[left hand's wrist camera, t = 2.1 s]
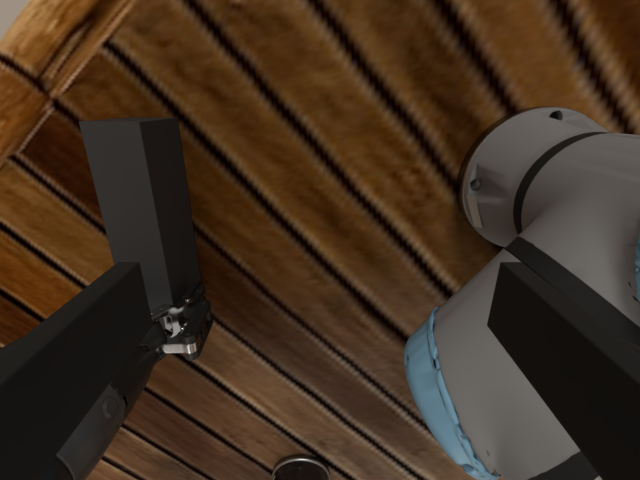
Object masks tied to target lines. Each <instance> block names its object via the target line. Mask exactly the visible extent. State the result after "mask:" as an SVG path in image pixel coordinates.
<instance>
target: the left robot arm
mask: <svg viewBox="0 0 640 480" xmlns="http://www.w3.org/2000/svg"><path fill="white" fill-rule="evenodd" d="M457 194H458V201H459V206H460V209H461V211H462V214H463V216H464V217H465V219H466V221H467V222H468V223H469V225H470V226H471V227H472V228H473V229H474V230H475V231H477V232H478V233H479V234H480V235H482V236H483V237H484V238H485V239H487V240H489V241H490V242H492V243H494V244H497V245H499V246H503V247H505V248H504V249H502V250H501V251H500V252H499V253H498V254H497V255H496V256H495V257H494V258H493V259H492V260H491V261H490V262H489V263H487V264H486V265H485V266H484V267H483V268H482V269H481V270H480V271H479V272H478V273H477V274H476V275H475V276H474V277H473V278H472V279H470V280H469V281H468V282H467V283H466V284H465V285H464V286H463V287H462V288H460V289H459V290H458V291H457V292H456V293H455V294H454V295H453V296H452V297H450V298H449V299H448V300H447V301H446V302H445V303H444V304H443V305H442V306H440V307H436V308H434V309H433V310H432V311H431V313H430V315H429V318H428V319H427V320H426V321H425V322H424V323H423V324H422V325H421V326H420V327H419V328H418V329H417V330H416V331H415V332H414V333H413V334H412V335H411V336H410V338H409V339H408V341H407V343H406V346H405V350H404V365H405V369H406V371H405V372H406V378H407V382H408V385H409V388H410V391H411V393H412V396H413V398H414V401H415V403H416V405H417V407H418V409H419V411H420V413H421V415H422V417H423V419H424V421H425V422H426V424H427V426H428V428H429V429H430V431H431V432H432V434H433V436H434V437H435V439H436V440H437V442H438V443H439V444H440V446H441V447H442V448H443V450H444V451H445V452H446V453H447V454H448V456H449V457H450V458H451V459H452V460H453V461H454V462H455V463H456V464H458V465H461V466H462V468H463V469H464V471H465V472H466V473H467V474H469V475H470V476H472V477H473V478H475V479H478V480H497V479H498V478H499V477H501V475H502V476H503V478H504V479H505V480H640V135H631V134H621V133H610V132H609V131H607V130H606V129H605V128H603V127H602V126H600V125H599V124H597V123H596V122H594V121H593V120H591V119H590V118H588V117H587V116H585V115H584V114H582V113H580V112H577V111H575V110H572V109H568V108H562V107H533V108H527V109H523V110H520V111H517V112H514V113H512V114H510V115H507V116H505V117H504V118H502V119H500V120H499V121H497V122H496V123H494V124H493V125H492V126H490V127H489V128H488V129H487V130H486V131H485V132H484V133H483V134H482V135H481V136H480V137H479V138H478V139H477V140H476V141H475V143H474V144H473V145H472V147H471V148H470V150H469V152H468V153H467V155H466V157H465V159H464V161H463V164H462V166H461V170H460V173H459V178H458V186H457ZM152 326H153V322H152V318H151V313H150V308H149V304H148V299H147V294H146V290H145V285H144V281H143V276H142V271H141V267H140V262H118V263H116V264H115V265H114V266H113V267H111V268H110V269H109V270H108V271H106V272H105V273H104V274H103V275H101V276H100V277H99V278H98V279H96V280H95V281H94V282H92V283H91V284H90V285H89V286H87V287H86V288H85V289H84V290H82V291H81V292H80V293H79V294H77V295H76V296H75V297H74V298H72V299H71V300H70V301H68V302H67V303H66V304H65V305H63V306H62V307H61V308H60V309H58V310H57V311H56V312H55V313H53V314H52V315H51V316H49V317H48V318H47V319H46V320H44V321H43V322H42V323H41V324H39V325H38V326H37V327H36V328H34V329H33V330H32V331H31V332H29V333H28V334H27V335H25V336H24V337H23V338H20V339H18V340H16V341H14V342H12V343H10V344H8V345H6V346H4V347H3V348H1V349H0V480H38V479H39V477H40V476H41V475H42V473H43V472H44V471H45V469H46V468H47V467H48V465H49V464H50V463H51V461H52V460H53V459H54V457H55V456H56V455H57V453H58V452H59V451H60V449H61V448H62V447H63V445H64V444H65V443H66V441H67V440H68V439H69V437H70V436H71V435H72V433H73V432H74V430H75V429H76V428H77V426H78V425H79V424H80V422H81V421H82V420H83V418H84V417H85V416H86V414H87V413H88V412H89V410H90V409H91V408H92V406H93V405H94V404H95V402H96V401H97V400H98V398H99V397H100V396H101V394H102V393H103V392H104V390H105V389H106V388H107V386H108V385H109V384H110V382H111V381H112V380H113V378H114V377H115V376H116V374H117V373H118V372H119V370H120V369H121V368H122V366H123V365H124V364H125V362H126V361H127V360H128V358H129V357H130V356H131V354H132V353H133V352H134V350H135V349H136V348H137V346H138V345H139V344H140V342H141V341H142V340H143V338H144V337H145V336H146V334H147V333H148V332H149V330H150V329H151V328H152Z"/></svg>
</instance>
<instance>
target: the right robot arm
mask: <svg viewBox="0 0 640 480" xmlns="http://www.w3.org/2000/svg"><path fill="white" fill-rule="evenodd" d="M205 299H206V295H205V288H204V285H201V281H193V282H192V284H191V285H190V287H189V288H188V290H187V291H186V292H185V294H184V295H183V299H181V300H179V301H178V302H176V303H174V304H172V305H169V304H163V305H161V306H159V307H157V308H155V309H154V310H152V311H150V313H151V318H152V322H153V326H152V328H151V329H150V330H149V332H148V333H147V334H146V336H145V337H144V338H143V340H142V341H141V342H140V344H139V345H138V346H137V348H136V349H135V350H134V352H133V353H132V354H131V356H130V357H129V358H128V360H127V361H126V362H125V364H124V365H123V366H122V368H121V369H120V370H119V372H118V373H117V374H116V376H115V377H114V378H113V380H112V381H111V382H110V384H109V385H108V386H107V388H106V389H105V390H104V392H103V393H102V394H101V396H100V397H99V398H98V400H97V401H96V402H95V404H94V405H93V406H92V408H91V409H90V410H89V412H88V413H87V414H86V416H85V417H84V418H83V420H82V421H81V422H80V424H79V425H78V426H77V428H76V429H75V430H74V432H73V433H72V435H71V436H70V437H69V439H68V440H67V441H66V443H65V444H64V445H63V447H62V448H61V449H60V451H59V452H58V453H57V455H56V456H55V457H54V459H53V460H52V461H51V463H50V464H49V465H48V467H47V468H46V469H45V471H44V472H43V473H42V475H41V476H40V477H39V479H38V480H85V479H86V478H87V477H88V476H89V474H90V473H91V472H92V470H93V469H94V468H95V466H96V465H97V464H98V462H99V461H100V459H101V458H102V456H103V455H104V453H105V451H106V450H107V448H108V446H109V445H110V443H111V441H112V440H113V438H114V436H115V435H116V433H117V432H118V430H119V428H120V427H121V425H122V423H123V422H124V420H125V419H126V417H127V415H128V414H129V412H130V410H131V409H132V407H133V405H134V404H135V402H136V401H137V399H138V397H139V396H140V394H141V392H142V391H143V389H144V387H145V386H146V384H147V382H148V380H149V377H150V374H151V371H152V369H153V367H154V365H155V364H156V363H157V362H158V361H159V360H161V359H162V358H164V357H165V356H166V355H167V353H185V358H186V360H195V359H197V358H198V357H199V355H200V353H201V351H202V348H203V346H204V343H205V341H206V339H207V336H208V334H209V331H210V329H211V327H212V324H213V318H212V315H211V308H210V307H211V304H210V301H209V300H205ZM182 311H183V314H184V316H183V317H182V318H180V319H178V314H179V313H180V312H182ZM162 318H164V323H165V331H164V329H163V327H162V325H161V323H160V321H159V320H160V319H162ZM272 480H330V472H329V469H328V467H327V465H326V464H325V463H324V462H323V461H321V460H320V459H318V458H316V457H313V456H309V455H292V456H288V457H286V458H284V459H282V460H280V461H279V462H278V463H277V464H276V465H275V467H274V469H273V473H272Z"/></svg>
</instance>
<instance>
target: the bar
mask: <svg viewBox="0 0 640 480" xmlns="http://www.w3.org/2000/svg"><path fill="white" fill-rule="evenodd" d="M79 124H80V128H81V132H82V136H83V140H84V145H85V149H86V153H87V157H88V161H89V165H90V169H91V173H92V177H93V181H94V185H95V189H96V193H97V197H98V201H99V205H100V209H101V213H102V217H103V221H104V225H105V229H106V233H107V237H108V241H109V245H110V249H111V253H112V257H113V261H114V265H115V264H116V263H118V262H140V267H141V271H142V276H143V281H144V285H145V290H146V294H147V299H148V304H149V308H150V311H152V310H154V309H155V308H157V307H159V306H161V305H163V304H169V305H172V304H174V303H176V302H178V301H179V300H181V299H183V295H184V294H185V292H186V291H187V290H188V288H189V287H190V285H191V284H192V282H193V281H201V276H200V269H199V262H198V255H197V249H196V242H195V235H194V228H193V221H192V214H191V208H190V201H189V194H188V187H187V180H186V174H185V167H184V160H183V153H182V146H181V139H180V133H179V126H178V119H177V118H119V119H106V120H94V121H82V122H79ZM201 285H202V283H201ZM183 316H184V314H183V311H182V312H180V313H179V314H178V319H180V318H182V317H183ZM159 321H160V323H161V325H162V327H163V329H164V331H165V323H164V318H162V319H160V320H159Z"/></svg>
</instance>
